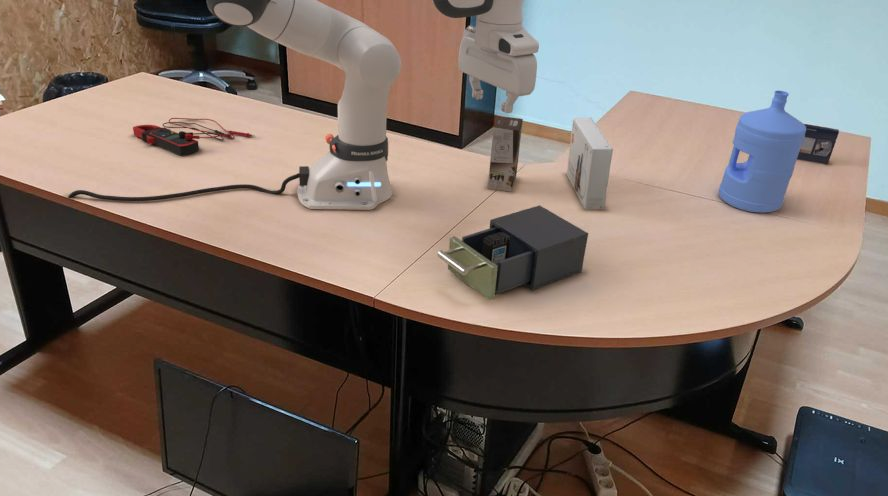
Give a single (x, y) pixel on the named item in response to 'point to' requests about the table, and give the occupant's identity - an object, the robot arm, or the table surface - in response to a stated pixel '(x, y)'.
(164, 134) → the digital clamp meter
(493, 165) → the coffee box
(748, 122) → the water jug
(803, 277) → the table surface
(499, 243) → the ink cartridge
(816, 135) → the vhs cassette tape
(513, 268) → the drawer
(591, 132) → the skincare box
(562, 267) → the cabinet
